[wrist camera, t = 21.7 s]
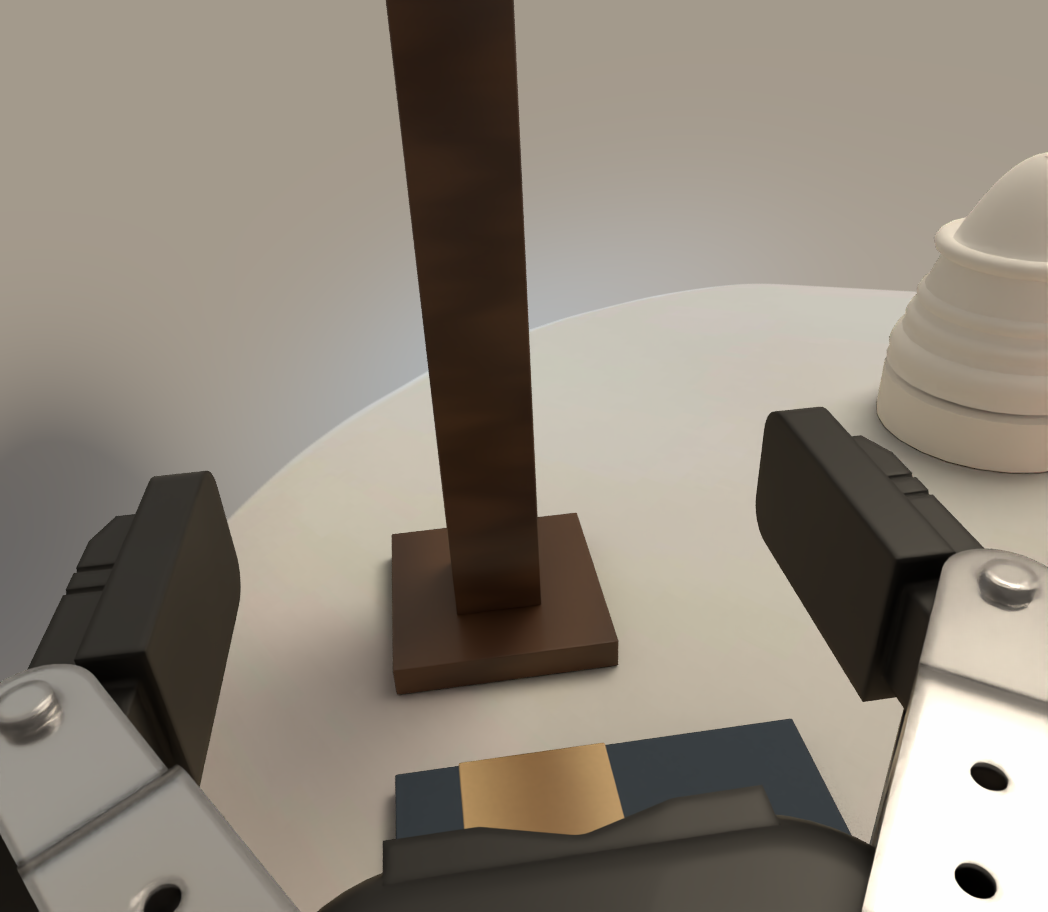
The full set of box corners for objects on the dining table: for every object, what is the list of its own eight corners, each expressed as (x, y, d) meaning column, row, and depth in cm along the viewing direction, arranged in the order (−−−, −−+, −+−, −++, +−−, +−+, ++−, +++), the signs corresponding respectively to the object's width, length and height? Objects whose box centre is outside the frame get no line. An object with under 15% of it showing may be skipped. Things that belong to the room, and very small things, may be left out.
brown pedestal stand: (397, 695, 38) (237, -215, 21) (395, 556, 47) (279, -175, 30) (618, 665, 39) (633, -230, 22) (577, 534, 48) (565, -187, 31)
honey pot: (985, 361, 63) (1053, 98, 53) (1147, 445, 52) (1268, 136, 43) (835, 395, 59) (880, 121, 50) (977, 492, 49) (1067, 168, 40)
